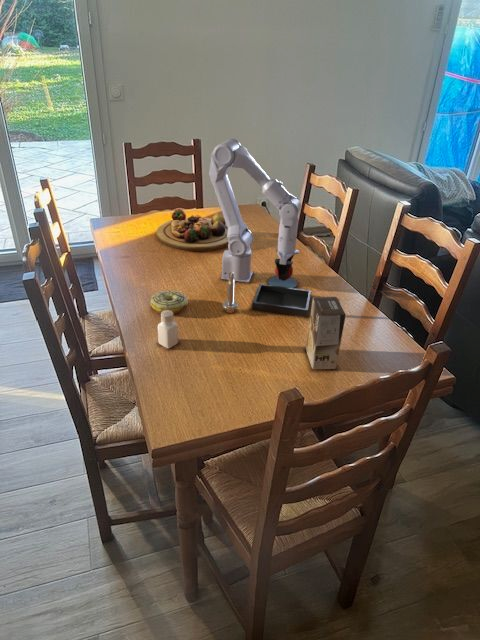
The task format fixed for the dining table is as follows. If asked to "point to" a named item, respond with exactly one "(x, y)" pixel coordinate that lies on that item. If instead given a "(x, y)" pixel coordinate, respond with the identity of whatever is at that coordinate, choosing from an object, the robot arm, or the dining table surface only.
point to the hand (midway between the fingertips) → (283, 275)
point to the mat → (282, 282)
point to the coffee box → (325, 332)
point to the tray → (282, 300)
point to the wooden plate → (194, 232)
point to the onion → (287, 274)
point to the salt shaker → (167, 330)
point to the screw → (230, 296)
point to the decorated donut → (168, 301)
